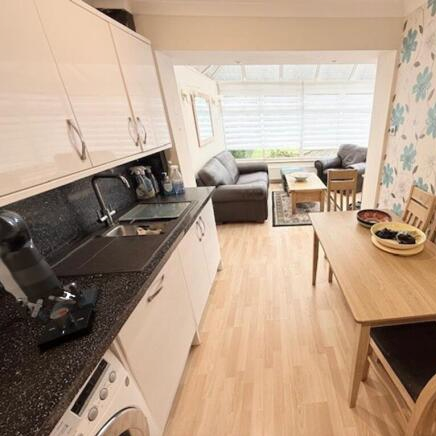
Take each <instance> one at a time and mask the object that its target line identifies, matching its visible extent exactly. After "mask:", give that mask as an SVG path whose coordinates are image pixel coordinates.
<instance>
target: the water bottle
mask: <svg viewBox="0 0 436 436" xmlns="http://www.w3.org/2000/svg"><path fill="white" fill-rule="evenodd" d="M0 283H1V285H2V286H3V287H4V290H5V291H6V292H8V293H10V294H11V295H13V297H15V299H16V300H17V299H18V298H20V297H22V298H27V296H25V294H24V293H23V292H22V290H21V289H20V288H19V286H18V285H17V284H16V282H15V281H14V279H13V278H12V276H11V274H10V272H9V270H8V269H7V268H6V266H5V265H4V264H3V262H2V261H1V259H0ZM27 305H28V307H29V308H30V310H34V308H35V305H36V304H33V303H30V302H28V303H27Z"/></svg>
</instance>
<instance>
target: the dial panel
mask: <svg viewBox="0 0 436 436" xmlns="http://www.w3.org/2000/svg"><path fill="white" fill-rule="evenodd" d="M95 315H96V312H95V310H94V307H90V308H87V309H84V310H81V311H80V312H78V313H76V312H75V313H72V316H73V317H74V319H75V322H74V323H73V324H72V325H71V326H70V327H68V328H66V329H63V330H59V329H57V327H56V326H55V324H54V323H53V321H52V320H48V321H47V322H46V324H45V327H44V329H43V331H42V333H41V334H40V335H41V336H40V338H39V339H38V342H37V343H36V346H37V347H38V349H39V350H40V351H41V352H44V351H47V350H49V349H53V348H55V347H59V346H60V345H63V344H66V343H68V342H71V341H75V340H76V339H79V338H82V337H84V336H87V335H90V334H91V331H92V327H93V323H94V321H95Z"/></svg>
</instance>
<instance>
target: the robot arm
mask: <svg viewBox="0 0 436 436" xmlns="http://www.w3.org/2000/svg"><path fill="white" fill-rule="evenodd" d="M0 259H1V261H2V262H3V264H4V265H5V266H6V268H7V269H8V270H9V272H10V274H11V276H12V278H13V279H14V281H15V282H16V284H17V285H18V286H19V288H20V289H21V290H22V292H23V293H24V294H25V296H27V298H22V297H20V298H18V299H16V301H15V302H14V304H13V306H14V307H15V310H17V312H18V314H19V315H20V316H21V318H22V319H27V318H29V317H30V318H31V317H32V318H33V319H34V320H35V321H36V322H37V324H39V325H41V326H43V325H47V323H48V318H47V316H46V315H45V314H44V312H43V311H42V310H41V309H42V307H48V306H50V305H53V304H54V305H55V304H56V303H58V302H63V303H66V302H67V303H70V304H72V307H73V309H74V310H75V312H76V313H78V312H80V310H81V308H82V305H81V304H80V302H79V300H82V297H83V295H84V294H83V292H82V291H81V290H82V289H81V287H80V286H79V285H78V284H77V282H76V281H71V282H70V283H69V284H66V285H64V284H62V283H61V282H60V280H59V278H58V277H57V275H56V274H55V272H54V271H53V268H52V267H51V266H50V264H49V263H48V261H47V260H45V259H44V257H43V256H42V254H41V252H40V250H39V249H38V248H37V247H36V245H35V243H34V240H33V237H32V234H31V232H30V228H29V226H28V224H27V223H26V221H25V219H24V218H23V217H22V216H21V215H20V214H18V213H17V212H15V211H13V210H12V211H11V210H7V209H0ZM68 292H72V293H73V295H71V294H70V293H68ZM63 297H65V298H63ZM28 302H30V303H33V304H36V305H35V307H34V308H33V310H30V308H29V307H28V305H27V303H28Z"/></svg>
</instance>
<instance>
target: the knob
mask: <svg viewBox="0 0 436 436" xmlns="http://www.w3.org/2000/svg"><path fill="white" fill-rule="evenodd" d="M50 314H51V313H50ZM49 316H50V315H49ZM49 319H50V321H53V323H54V324H55V326H56V327H57V329H59V330H63V329H66V328H68V327H70V326H71V325H72V324H73V323H74V322H75V319H74V317H73V316H72V314H71V313H70V311H69V310H68V308H62V309H59V310H57V311H55V312H54V313H52V314H51V316H50V317H49Z"/></svg>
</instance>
